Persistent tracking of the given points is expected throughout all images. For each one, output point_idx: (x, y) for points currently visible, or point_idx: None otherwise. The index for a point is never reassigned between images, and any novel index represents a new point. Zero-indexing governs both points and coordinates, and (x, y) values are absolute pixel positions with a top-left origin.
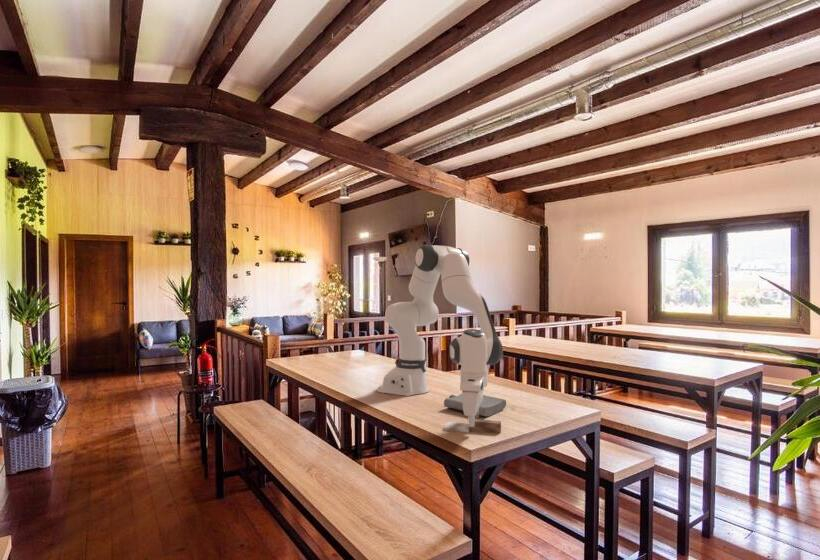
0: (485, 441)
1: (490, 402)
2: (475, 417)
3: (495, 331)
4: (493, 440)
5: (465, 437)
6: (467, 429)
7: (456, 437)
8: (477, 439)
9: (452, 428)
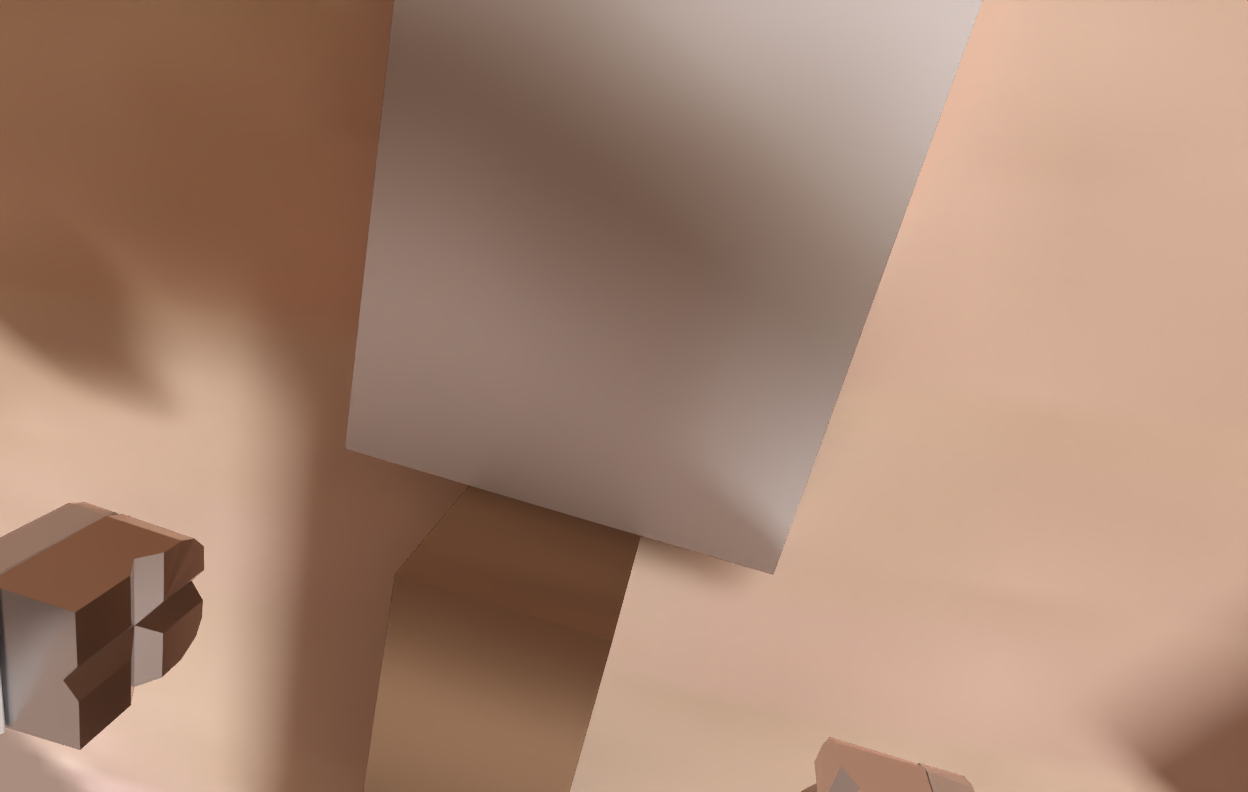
0: None
1: None
2: (818, 790)
3: None
4: None
5: (89, 327)
6: (348, 427)
7: (37, 131)
8: None
9: (392, 36)
